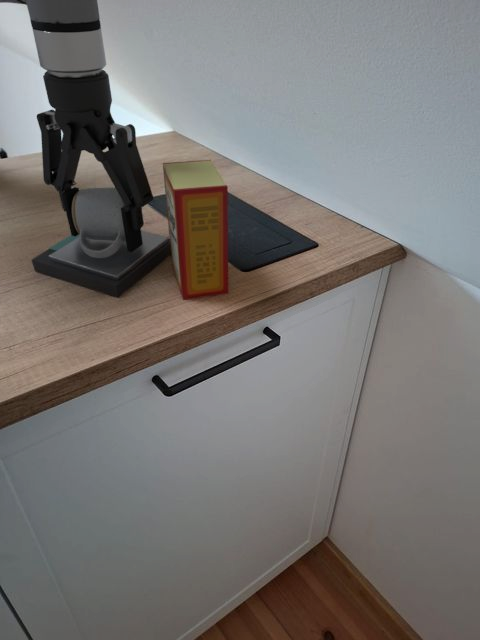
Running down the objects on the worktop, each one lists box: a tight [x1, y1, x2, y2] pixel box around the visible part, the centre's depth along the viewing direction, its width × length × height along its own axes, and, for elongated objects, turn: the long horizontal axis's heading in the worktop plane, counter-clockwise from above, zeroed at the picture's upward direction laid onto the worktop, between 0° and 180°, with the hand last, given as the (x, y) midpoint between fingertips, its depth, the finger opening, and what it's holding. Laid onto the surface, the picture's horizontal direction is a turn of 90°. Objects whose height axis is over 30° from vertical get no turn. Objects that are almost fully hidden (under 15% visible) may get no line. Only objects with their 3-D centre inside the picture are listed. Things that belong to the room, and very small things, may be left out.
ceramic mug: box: [72, 186, 132, 258], centre depth 70 cm, size 11×8×8 cm
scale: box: [31, 234, 171, 298], centre depth 75 cm, size 15×15×2 cm
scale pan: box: [49, 229, 169, 281], centre depth 74 cm, size 12×13×1 cm
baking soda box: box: [162, 159, 229, 300], centre depth 67 cm, size 10×6×16 cm
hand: (106, 239), depth 73 cm, fingers closed on ceramic mug, 9 cm apart
